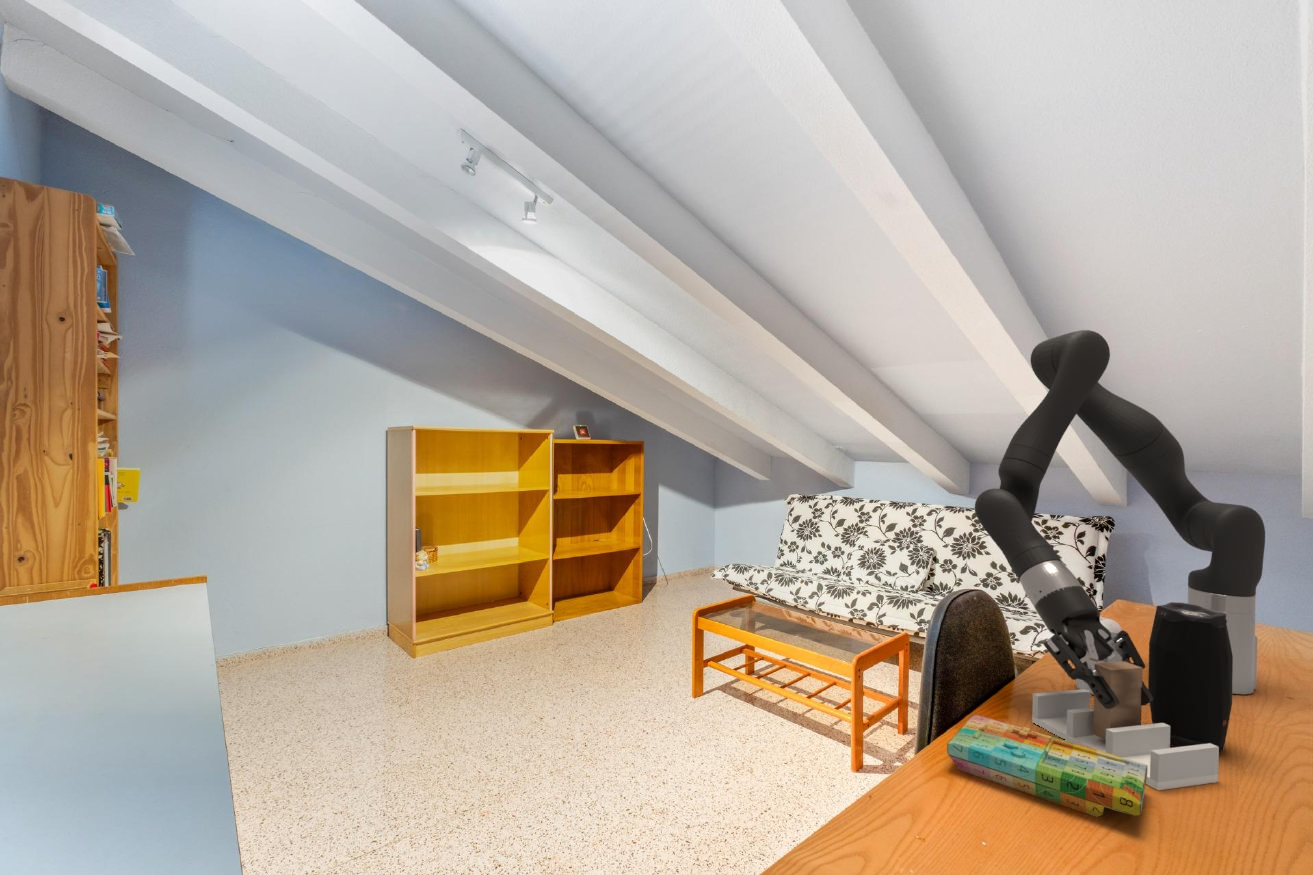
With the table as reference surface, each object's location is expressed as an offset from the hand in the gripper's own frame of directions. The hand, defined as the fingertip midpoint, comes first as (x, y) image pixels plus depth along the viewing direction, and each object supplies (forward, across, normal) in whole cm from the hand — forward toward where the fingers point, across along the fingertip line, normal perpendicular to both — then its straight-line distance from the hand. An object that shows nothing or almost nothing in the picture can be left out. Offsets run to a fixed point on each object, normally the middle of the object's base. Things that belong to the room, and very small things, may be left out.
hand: (1130, 704), depth 87 cm
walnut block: (+2, 0, +5) cm, 6 cm away
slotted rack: (+4, 0, +6) cm, 7 cm away
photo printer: (-9, +19, +20) cm, 29 cm away
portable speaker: (+4, +13, +6) cm, 15 cm away
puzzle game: (+8, -18, +3) cm, 19 cm away
